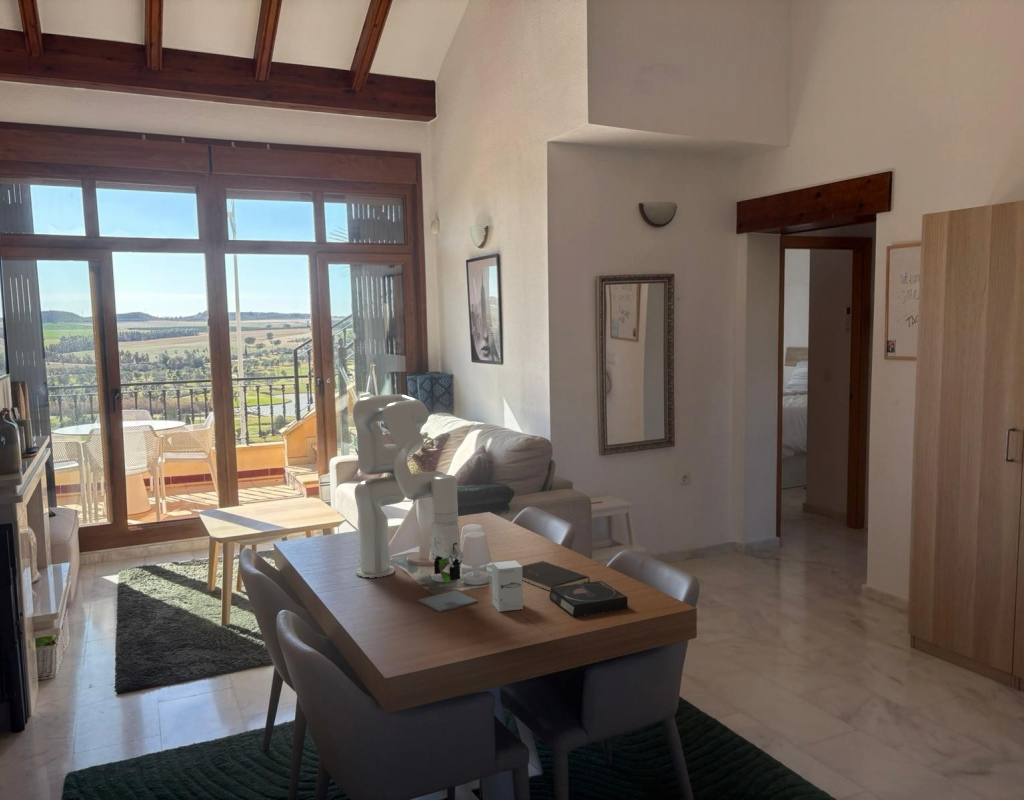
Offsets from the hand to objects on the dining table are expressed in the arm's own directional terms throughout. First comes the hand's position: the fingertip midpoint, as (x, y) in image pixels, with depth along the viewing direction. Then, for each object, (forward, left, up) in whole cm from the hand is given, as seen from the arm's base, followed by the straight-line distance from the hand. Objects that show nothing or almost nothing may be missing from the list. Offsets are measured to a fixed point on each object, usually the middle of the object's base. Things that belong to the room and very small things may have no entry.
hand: (447, 576), depth 234 cm
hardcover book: (+1, +37, -9) cm, 38 cm away
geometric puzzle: (0, 0, -2) cm, 2 cm away
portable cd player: (+28, +30, -9) cm, 42 cm away
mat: (0, 0, -8) cm, 8 cm away
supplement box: (+15, +11, -8) cm, 20 cm away
